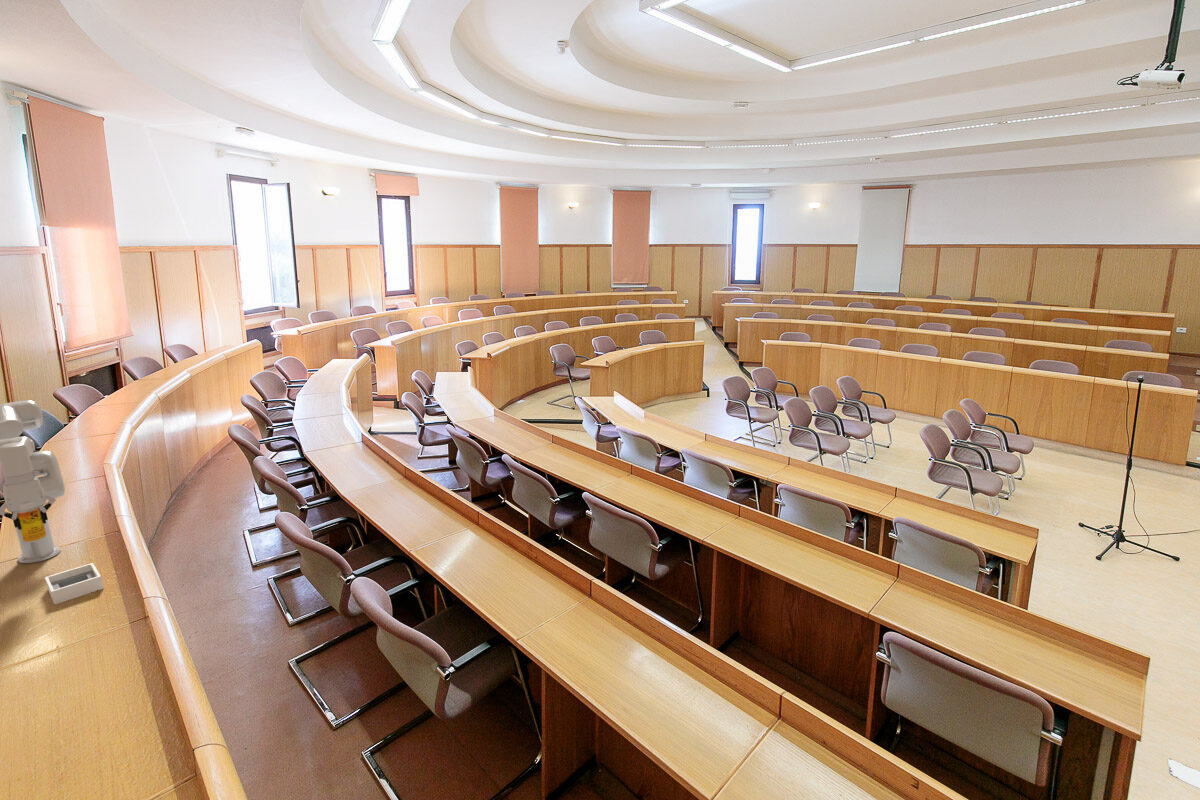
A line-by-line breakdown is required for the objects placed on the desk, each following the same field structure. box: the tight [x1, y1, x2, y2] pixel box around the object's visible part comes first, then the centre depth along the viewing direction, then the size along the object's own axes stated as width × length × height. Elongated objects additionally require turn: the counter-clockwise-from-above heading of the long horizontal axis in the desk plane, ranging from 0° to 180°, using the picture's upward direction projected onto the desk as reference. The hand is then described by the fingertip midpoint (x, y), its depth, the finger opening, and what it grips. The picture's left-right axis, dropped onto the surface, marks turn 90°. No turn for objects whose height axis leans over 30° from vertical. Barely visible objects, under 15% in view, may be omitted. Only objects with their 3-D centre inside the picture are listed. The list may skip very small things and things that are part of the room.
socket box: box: [44, 562, 104, 605], centre depth 221 cm, size 14×14×5 cm
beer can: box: [17, 502, 46, 543], centre depth 218 cm, size 6×6×15 cm
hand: (31, 524), depth 219 cm, fingers closed on beer can, 6 cm apart
